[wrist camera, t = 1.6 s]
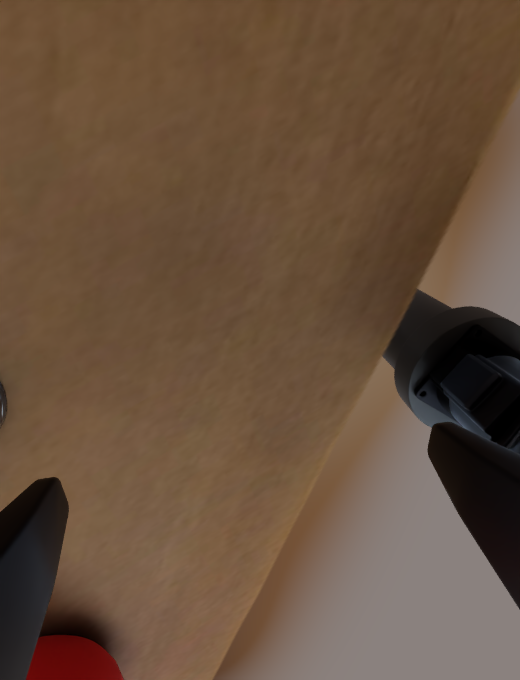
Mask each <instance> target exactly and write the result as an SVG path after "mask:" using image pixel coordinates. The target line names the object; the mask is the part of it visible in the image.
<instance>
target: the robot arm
mask: <svg viewBox="0 0 520 680" xmlns="http://www.w3.org/2000/svg"><path fill="white" fill-rule="evenodd" d="M476 331H478V332H477V333H476V334H475V332H476ZM422 391H423V393H421V392H422ZM420 393H421V394H420ZM414 395H415V396H416V397H417V398H418V399H419V400H421V401H423V402H424V403H426V404H428V405H429V406H431V407H433V408H434V409H436V410H438V411H439V412H441V413H443V414H444V415H446V416H448V417H449V418H451V419H453V420H454V421H456V422H458V423H459V424H461V425H462V426H463V427H464V428H463V427H461V426H458V425H456V424H454V423H452V422H443V423H436V424H434V425H433V427H432V431H431V434H430V440H429V444H428V455H429V458H430V460H431V462H432V464H433V466H434V468H435V470H436V472H437V474H438V476H439V477H440V480H441V482H442V484H443V485H444V487H445V489H446V491H447V493H448V495H449V497H450V499H451V501H452V503H453V505H454V506H455V508H456V510H457V512H458V514H459V515H460V517H461V519H462V520H463V522H464V524H465V525H466V527H467V528H468V530H469V531H470V533H471V535H472V536H473V538H474V539H475V540H476V542H477V544H478V545H479V547H480V549H481V550H482V552H483V553H484V555H485V556H486V558H487V559H488V561H489V563H490V564H491V566H492V567H493V569H494V570H495V572H496V573H497V575H498V576H499V578H500V579H501V581H502V583H503V584H504V586H505V587H506V589H507V590H508V592H509V593H510V595H511V597H512V598H513V600H514V601H515V603H516V604H517V606H518V607H519V609H520V355H519V354H518V353H517V352H515V351H514V350H513V349H511V348H510V347H509V346H507V345H506V344H505V343H503V342H502V341H501V340H499V339H498V338H497V337H495V336H494V335H493V334H491V333H490V332H489V331H487V330H486V329H485V328H483V327H482V326H480V325H473V326H471V327H470V328H469V329H468V330H467V331H466V333H465V334H464V335H463V336H462V337H461V338H460V339H459V340H458V341H457V343H456V344H455V345H454V346H453V347H452V348H451V349H450V350H449V351H448V353H447V354H446V355H445V356H444V357H443V358H442V359H441V360H440V362H439V363H438V364H437V365H436V366H435V367H434V368H433V369H432V370H431V372H430V373H429V374H428V375H427V376H426V377H425V378H424V379H423V380H422V382H421V383H420V384H419V385H418V386H417V387H416V388H415V390H414ZM68 512H69V505H68V501H67V498H66V496H65V493H64V490H63V488H62V485H61V482H60V480H59V479H58V478H56V477H51V478H44V479H39V480H36V481H35V482H34V483H32V484H31V485H30V486H29V487H28V488H27V489H26V490H25V491H23V492H22V493H21V494H20V495H19V496H18V497H17V498H16V499H14V500H13V501H12V502H11V503H10V504H9V505H8V506H7V507H5V508H4V509H3V510H2V511H1V512H0V680H26V677H27V674H28V671H29V667H30V664H31V661H32V657H33V654H34V651H35V648H36V644H37V641H38V638H39V634H40V631H41V628H42V625H43V621H44V618H45V615H46V611H47V608H48V605H49V602H50V598H51V595H52V591H53V587H54V584H55V579H56V575H57V570H58V564H59V559H60V554H61V549H62V544H63V539H64V534H65V528H66V523H67V518H68Z"/></svg>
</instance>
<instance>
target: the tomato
mask: <svg viewBox="0 0 520 680" xmlns="http://www.w3.org/2000/svg"><path fill="white" fill-rule="evenodd" d="M26 680H123V677H122V675H121V672H120V670H119V667H118V665H117V663H116V661H115V659H114V658H113V657H112V656H111V655H110V654H109V653H108V652H107V651H106V650H105V649H104V648H102V647H101V646H100V645H99V644H97V643H95V642H94V641H92V640H89V639H87V638H84V637H79V636H72V635H49V636H42V637H39V638H38V641H37V644H36V648H35V651H34V654H33V657H32V661H31V664H30V667H29V671H28V674H27V677H26Z"/></svg>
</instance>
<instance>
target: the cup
mask: <svg viewBox="0 0 520 680" xmlns="http://www.w3.org/2000/svg"><path fill="white" fill-rule="evenodd" d="M6 411H7V401H6V395H5V392H4V389H3V386H2V384H1V382H0V428H1V426H2V424H3V422H4V419H5V416H6Z"/></svg>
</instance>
